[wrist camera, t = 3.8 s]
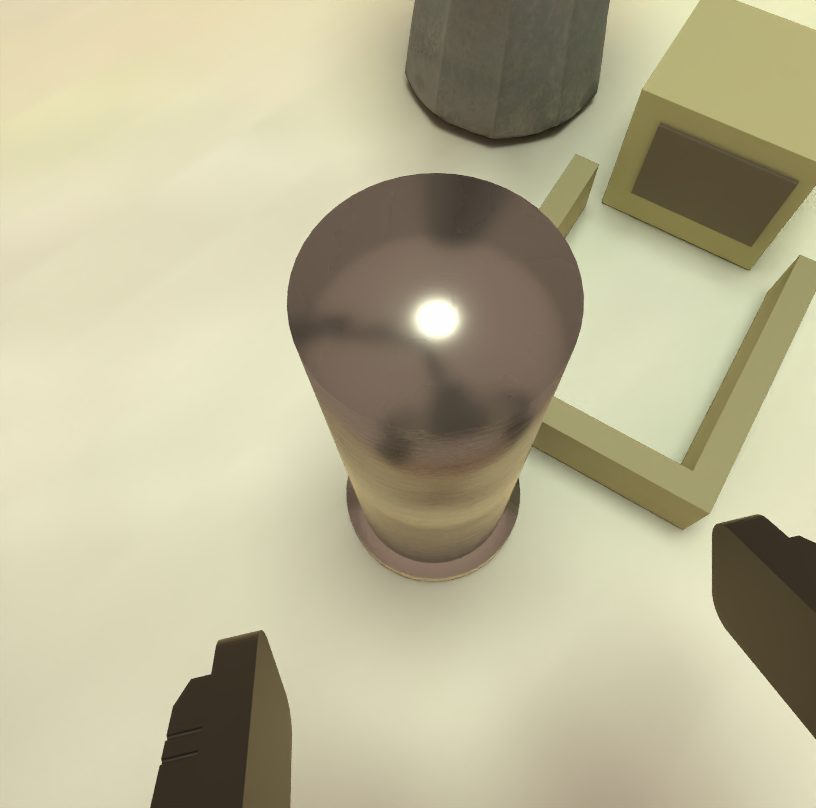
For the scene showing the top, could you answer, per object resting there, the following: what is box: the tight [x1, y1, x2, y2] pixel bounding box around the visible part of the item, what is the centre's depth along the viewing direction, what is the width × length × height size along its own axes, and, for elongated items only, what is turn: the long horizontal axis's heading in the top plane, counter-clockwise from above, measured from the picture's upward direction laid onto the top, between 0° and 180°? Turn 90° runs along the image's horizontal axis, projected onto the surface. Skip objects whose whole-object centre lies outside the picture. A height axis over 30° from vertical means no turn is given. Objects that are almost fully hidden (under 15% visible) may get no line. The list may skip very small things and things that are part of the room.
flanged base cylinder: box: [287, 173, 584, 582], centre depth 18 cm, size 6×6×14 cm
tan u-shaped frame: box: [533, 0, 816, 529], centre depth 25 cm, size 16×10×6 cm, turn 148°
